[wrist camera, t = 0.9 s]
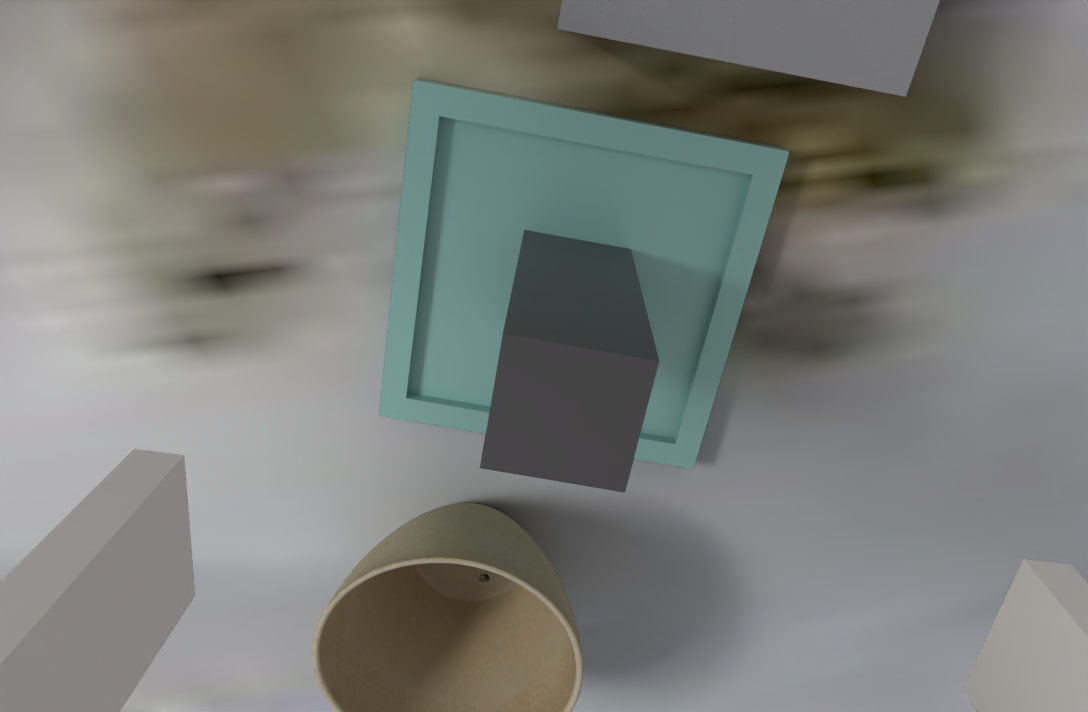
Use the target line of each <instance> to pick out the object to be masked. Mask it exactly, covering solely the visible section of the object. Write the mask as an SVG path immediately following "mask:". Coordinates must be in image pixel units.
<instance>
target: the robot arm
mask: <svg viewBox="0 0 1088 712" xmlns="http://www.w3.org/2000/svg"><path fill="white" fill-rule="evenodd" d="M194 596H195V587H194V574H193V561H192V549H191V536H190V523H189V510H188V498H187V485H186V472H185V460H184V455H178V454H170V453H162V452H154V451H146V450H138V449H134V450H133V451H132V452H131V453H130V454H129V455H128V456H127V457H126V458H125V459H124V460H123V461H122V462H121V463H120V464H119V465H118V466H117V467H116V468H115V469H114V470H113V471H112V472H111V473H110V474H109V475H108V476H107V477H106V478H105V479H104V480H103V481H102V482H101V483H100V484H99V485H98V486H97V487H96V488H95V489H94V490H93V491H92V492H91V493H90V494H89V495H87V496H86V497H85V498H84V499H83V500H82V501H81V502H80V503H79V504H78V505H77V506H76V507H75V508H74V509H73V510H72V511H71V512H70V513H69V514H68V515H67V516H66V517H65V518H64V519H63V520H62V521H61V522H60V523H59V524H58V525H57V526H56V527H55V528H54V529H53V530H52V531H51V532H50V533H49V534H48V535H47V536H46V537H45V538H44V539H43V540H42V541H41V542H40V543H39V544H38V545H37V546H36V547H35V548H34V549H33V550H32V551H31V552H30V553H29V554H28V555H27V556H26V557H25V558H24V559H23V560H22V561H21V562H20V563H19V564H18V565H17V566H16V567H15V568H14V569H13V570H12V571H11V572H10V573H9V574H8V575H7V576H6V577H5V578H4V579H3V580H2V581H1V582H0V712H120V710H121V709H122V707H123V706H124V704H125V703H126V701H127V699H128V698H129V696H130V695H131V693H132V692H133V690H134V689H135V687H136V686H137V684H138V683H139V681H140V679H141V678H142V676H143V675H144V673H145V672H146V670H147V669H148V667H149V666H150V664H151V663H152V661H153V659H154V658H155V656H156V655H157V653H158V652H159V650H160V649H161V647H162V646H163V644H164V643H165V641H166V639H167V638H168V636H169V635H170V633H171V632H172V630H173V629H174V627H175V626H176V624H177V623H178V621H179V619H180V618H181V616H182V615H183V613H184V612H185V610H186V609H187V607H188V606H189V604H190V603H191V601H192V599H193V598H194ZM963 688H964V690H965V692H966V693H967V695H968V697H969V699H970V700H971V702H972V704H973V706H974V707H975V709H976V711H977V712H1088V583H1087V581H1086V580H1085V579H1084V578H1083V577H1082V576H1081V575H1080V574H1079V573H1078V571H1077V570H1076V569H1075V568H1074V567H1073V566H1072V565H1070V564H1062V563H1054V562H1045V561H1037V560H1029V559H1023V561H1022V563H1021V565H1020V567H1019V569H1018V571H1017V574H1016V576H1015V578H1014V580H1013V582H1012V584H1011V586H1010V589H1009V591H1008V593H1007V595H1006V597H1005V599H1004V601H1003V604H1002V606H1001V608H1000V610H999V612H998V614H997V616H996V619H995V621H994V623H993V625H992V627H991V629H990V632H989V634H988V636H987V638H986V640H985V642H984V644H983V647H982V649H981V651H980V653H979V655H978V657H977V659H976V662H975V664H974V666H973V668H972V670H971V672H970V674H969V677H968V679H967V681H966V683H965V685H964V687H963Z"/></svg>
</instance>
